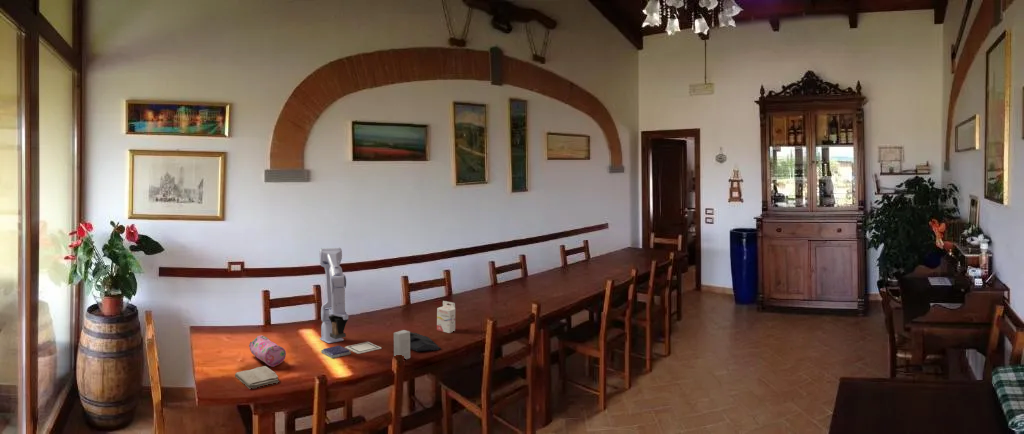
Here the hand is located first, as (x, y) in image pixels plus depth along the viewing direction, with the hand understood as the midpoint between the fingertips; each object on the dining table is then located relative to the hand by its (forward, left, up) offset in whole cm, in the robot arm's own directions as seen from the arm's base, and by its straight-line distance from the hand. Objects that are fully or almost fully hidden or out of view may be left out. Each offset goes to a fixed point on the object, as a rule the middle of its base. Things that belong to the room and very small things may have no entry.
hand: (338, 332), depth 266 cm
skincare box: (+25, +17, -10) cm, 32 cm away
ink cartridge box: (+3, +58, -10) cm, 59 cm away
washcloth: (+9, -39, -10) cm, 42 cm away
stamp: (0, 0, -2) cm, 2 cm away
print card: (+1, +12, -9) cm, 15 cm away
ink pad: (0, -1, -9) cm, 9 cm away
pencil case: (-11, -27, -10) cm, 31 cm away
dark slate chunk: (+14, +34, -10) cm, 38 cm away
